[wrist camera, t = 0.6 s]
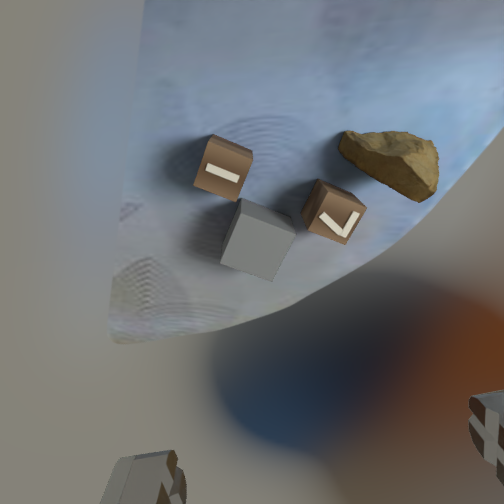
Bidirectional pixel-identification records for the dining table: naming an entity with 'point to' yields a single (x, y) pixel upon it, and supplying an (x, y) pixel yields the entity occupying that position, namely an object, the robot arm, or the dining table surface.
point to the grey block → (257, 240)
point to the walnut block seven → (332, 212)
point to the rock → (395, 161)
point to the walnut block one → (223, 168)
